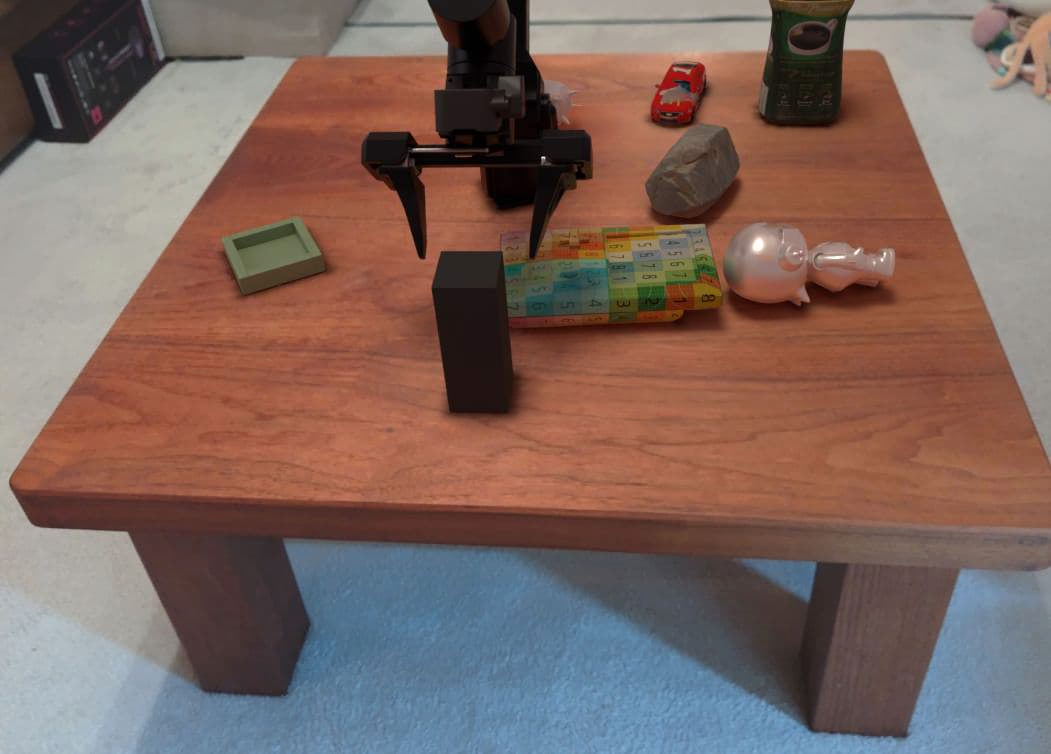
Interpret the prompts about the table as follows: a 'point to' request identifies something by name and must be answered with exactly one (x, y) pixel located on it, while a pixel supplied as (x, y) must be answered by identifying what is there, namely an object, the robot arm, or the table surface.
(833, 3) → the coffee jar
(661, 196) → the stone
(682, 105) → the race car
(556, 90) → the robot toy
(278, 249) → the green square tray
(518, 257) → the puzzle game
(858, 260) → the figurine
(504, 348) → the tall black rectangular block
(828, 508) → the table surface
